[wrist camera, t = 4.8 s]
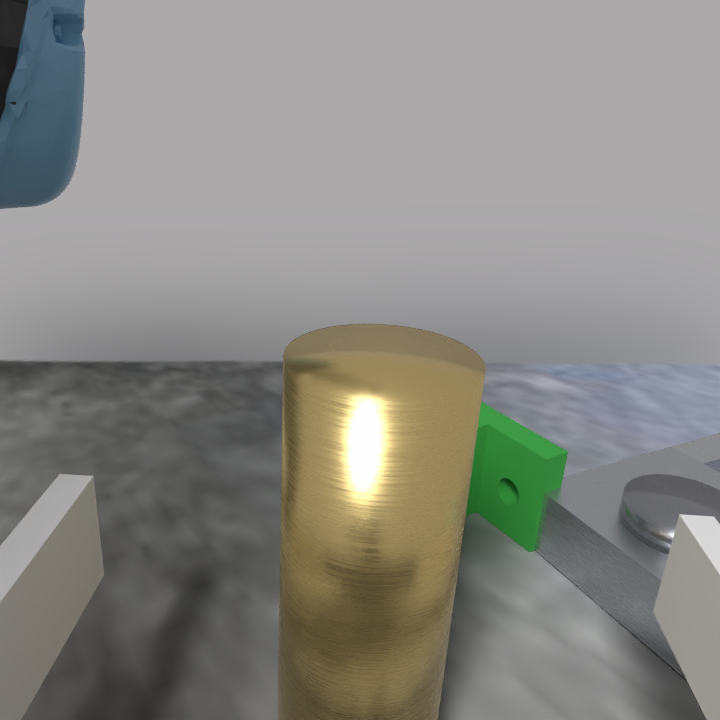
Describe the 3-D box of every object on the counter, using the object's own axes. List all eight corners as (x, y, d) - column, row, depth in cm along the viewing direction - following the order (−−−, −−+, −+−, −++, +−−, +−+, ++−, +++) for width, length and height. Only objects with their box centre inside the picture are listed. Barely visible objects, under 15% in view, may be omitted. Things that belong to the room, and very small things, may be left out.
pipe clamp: (319, 449, 33) (321, 361, 32) (382, 432, 35) (388, 348, 34) (477, 586, 25) (493, 475, 23) (550, 552, 27) (569, 448, 25)
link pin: (254, 718, 19) (254, 336, 14) (382, 668, 20) (415, 316, 16) (317, 857, 15) (339, 417, 11) (463, 783, 17) (528, 381, 13)
